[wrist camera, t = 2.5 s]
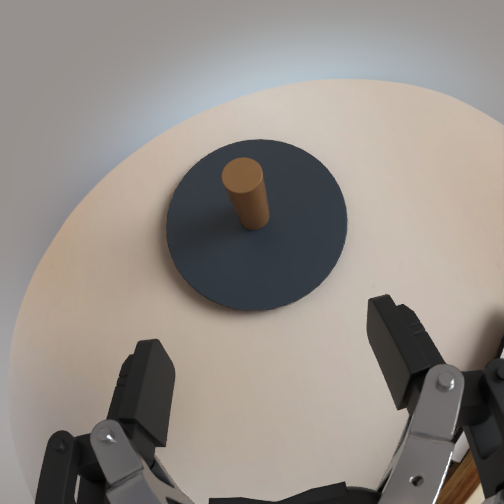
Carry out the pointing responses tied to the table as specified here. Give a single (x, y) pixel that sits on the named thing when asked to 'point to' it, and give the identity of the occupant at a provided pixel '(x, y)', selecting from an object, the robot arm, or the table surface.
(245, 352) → the table surface
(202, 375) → the table surface
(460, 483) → the book
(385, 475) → the robot arm
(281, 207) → the lid
